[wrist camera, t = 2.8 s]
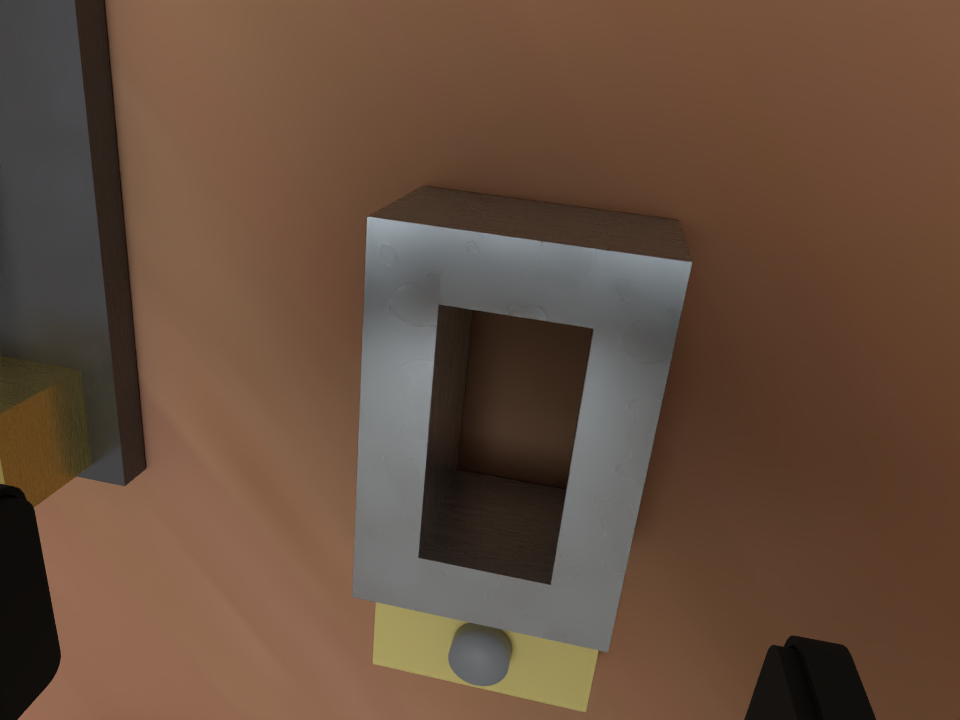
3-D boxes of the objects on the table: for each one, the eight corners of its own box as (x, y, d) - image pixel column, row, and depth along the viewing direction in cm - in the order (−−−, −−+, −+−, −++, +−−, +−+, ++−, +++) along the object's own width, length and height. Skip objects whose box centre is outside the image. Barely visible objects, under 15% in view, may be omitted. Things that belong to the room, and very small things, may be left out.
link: (678, 219, 17) (692, 262, 13) (612, 546, 20) (607, 652, 16) (422, 185, 17) (367, 216, 14) (401, 504, 21) (352, 597, 17)
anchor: (606, 575, 20) (602, 642, 18) (589, 658, 22) (584, 730, 19) (398, 534, 21) (370, 592, 19) (393, 615, 22) (365, 679, 20)
